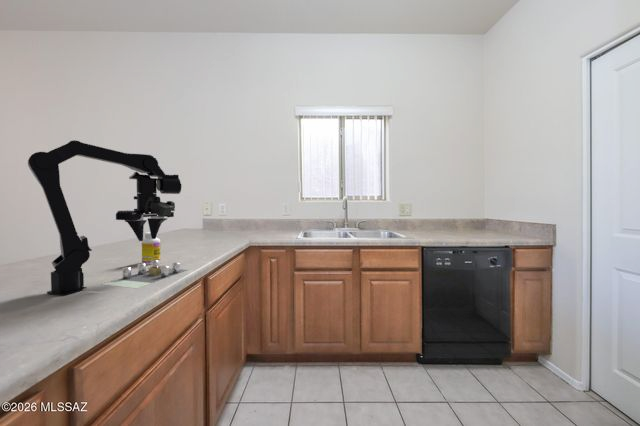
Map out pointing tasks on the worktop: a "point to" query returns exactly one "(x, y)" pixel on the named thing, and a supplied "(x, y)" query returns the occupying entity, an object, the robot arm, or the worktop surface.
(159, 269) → the nut
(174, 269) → the spacers
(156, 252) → the supplement bottle
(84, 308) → the worktop surface
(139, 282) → the mat
